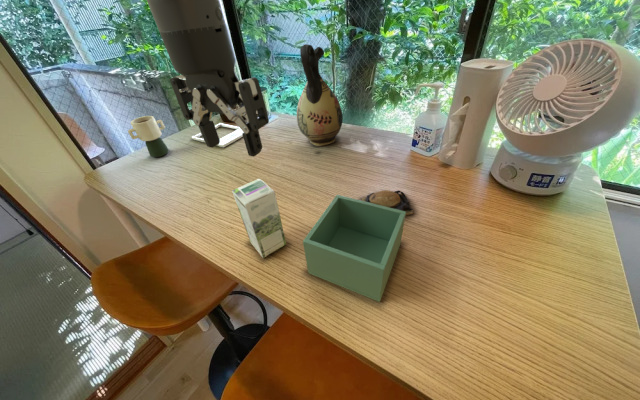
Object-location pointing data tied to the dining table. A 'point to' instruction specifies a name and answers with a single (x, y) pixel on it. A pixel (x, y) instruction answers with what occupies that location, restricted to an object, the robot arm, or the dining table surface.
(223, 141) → the photo frame
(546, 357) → the dining table surface
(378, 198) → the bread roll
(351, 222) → the tote
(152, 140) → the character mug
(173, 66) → the robot arm
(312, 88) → the ceramic jug
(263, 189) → the syrup box
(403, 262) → the dining table surface
